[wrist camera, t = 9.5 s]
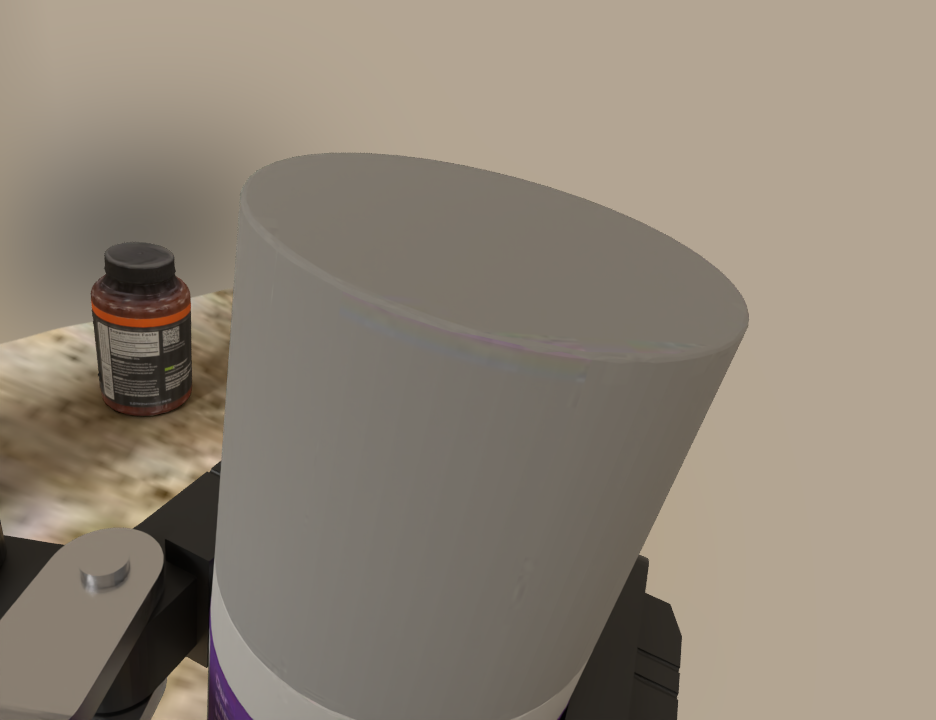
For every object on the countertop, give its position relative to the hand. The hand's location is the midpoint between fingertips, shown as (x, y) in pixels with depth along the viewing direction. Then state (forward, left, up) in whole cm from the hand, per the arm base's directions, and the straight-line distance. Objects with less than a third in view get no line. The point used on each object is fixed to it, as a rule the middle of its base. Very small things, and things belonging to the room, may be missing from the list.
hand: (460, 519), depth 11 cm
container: (0, -3, -9) cm, 10 cm away
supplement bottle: (-24, +25, -22) cm, 41 cm away
